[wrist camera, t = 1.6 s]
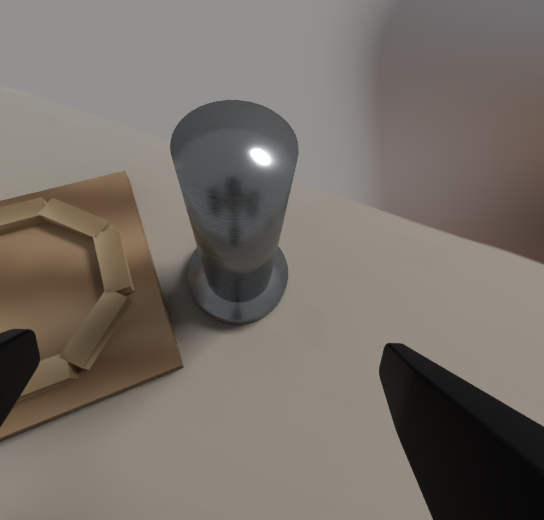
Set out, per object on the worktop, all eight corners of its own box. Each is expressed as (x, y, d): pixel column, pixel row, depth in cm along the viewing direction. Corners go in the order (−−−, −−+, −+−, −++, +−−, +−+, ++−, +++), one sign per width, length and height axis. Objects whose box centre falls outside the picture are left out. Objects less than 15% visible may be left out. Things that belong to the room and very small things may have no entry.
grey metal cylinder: (227, 345, 21) (209, 268, 9) (171, 268, 23) (98, 123, 11) (305, 286, 23) (369, 163, 11) (248, 220, 25) (253, 59, 13)
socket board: (183, 367, 20) (170, 358, 16) (-119, 488, 16) (-221, 512, 13) (128, 179, 26) (110, 142, 22) (-104, 236, 22) (-172, 204, 18)
